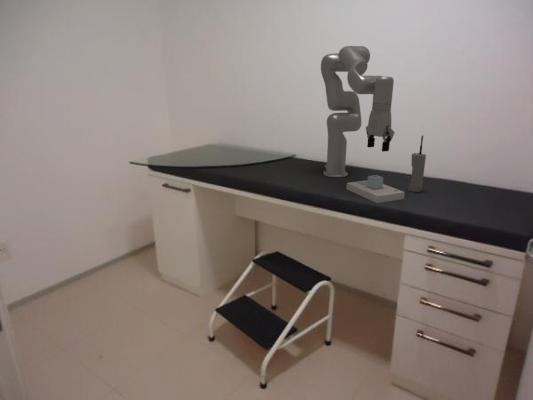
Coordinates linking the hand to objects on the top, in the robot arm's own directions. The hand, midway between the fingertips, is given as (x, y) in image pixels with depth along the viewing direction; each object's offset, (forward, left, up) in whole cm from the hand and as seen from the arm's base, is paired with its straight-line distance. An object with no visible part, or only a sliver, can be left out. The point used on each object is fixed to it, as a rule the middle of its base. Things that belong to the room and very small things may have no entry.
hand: (377, 149), depth 170 cm
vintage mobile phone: (+3, +20, -20) cm, 29 cm away
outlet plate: (0, 0, -20) cm, 20 cm away
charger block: (0, 0, -19) cm, 19 cm away
